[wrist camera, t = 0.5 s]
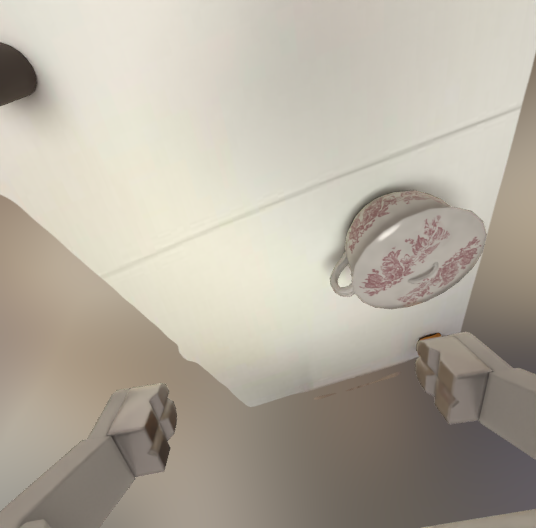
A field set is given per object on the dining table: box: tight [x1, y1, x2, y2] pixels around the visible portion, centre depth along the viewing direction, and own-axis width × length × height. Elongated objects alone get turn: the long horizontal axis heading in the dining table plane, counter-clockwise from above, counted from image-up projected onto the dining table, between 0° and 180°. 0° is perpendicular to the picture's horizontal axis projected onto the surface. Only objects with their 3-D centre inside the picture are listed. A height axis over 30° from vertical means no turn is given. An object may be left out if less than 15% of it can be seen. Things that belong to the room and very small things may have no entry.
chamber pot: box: [330, 190, 487, 309], centre depth 62 cm, size 28×28×21 cm
